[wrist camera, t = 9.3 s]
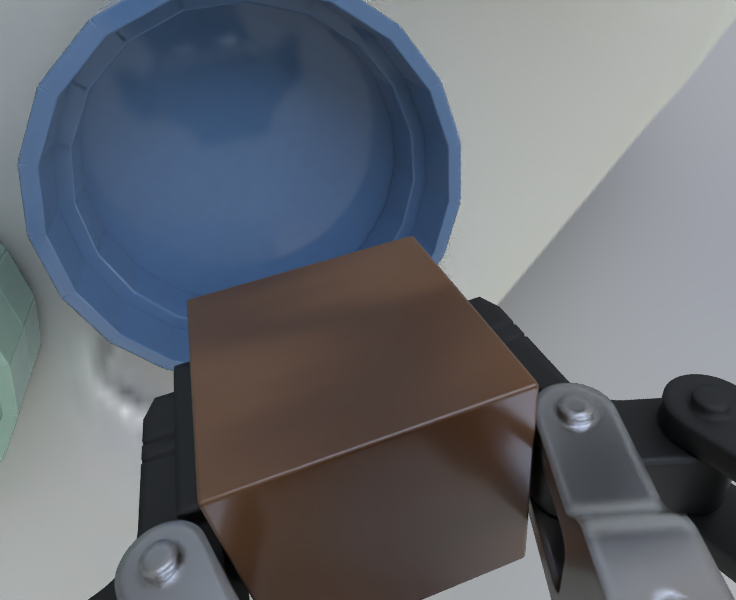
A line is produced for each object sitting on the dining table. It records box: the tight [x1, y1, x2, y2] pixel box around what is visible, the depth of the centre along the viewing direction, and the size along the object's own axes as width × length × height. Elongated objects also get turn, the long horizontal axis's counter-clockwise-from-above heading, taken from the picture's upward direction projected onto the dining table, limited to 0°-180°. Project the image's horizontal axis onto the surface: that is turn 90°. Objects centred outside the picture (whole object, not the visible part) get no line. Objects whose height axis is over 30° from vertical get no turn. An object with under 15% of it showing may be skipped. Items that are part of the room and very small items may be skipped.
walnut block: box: [187, 236, 539, 600], centre depth 10 cm, size 5×5×5 cm
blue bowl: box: [18, 0, 461, 371], centre depth 19 cm, size 14×14×5 cm
